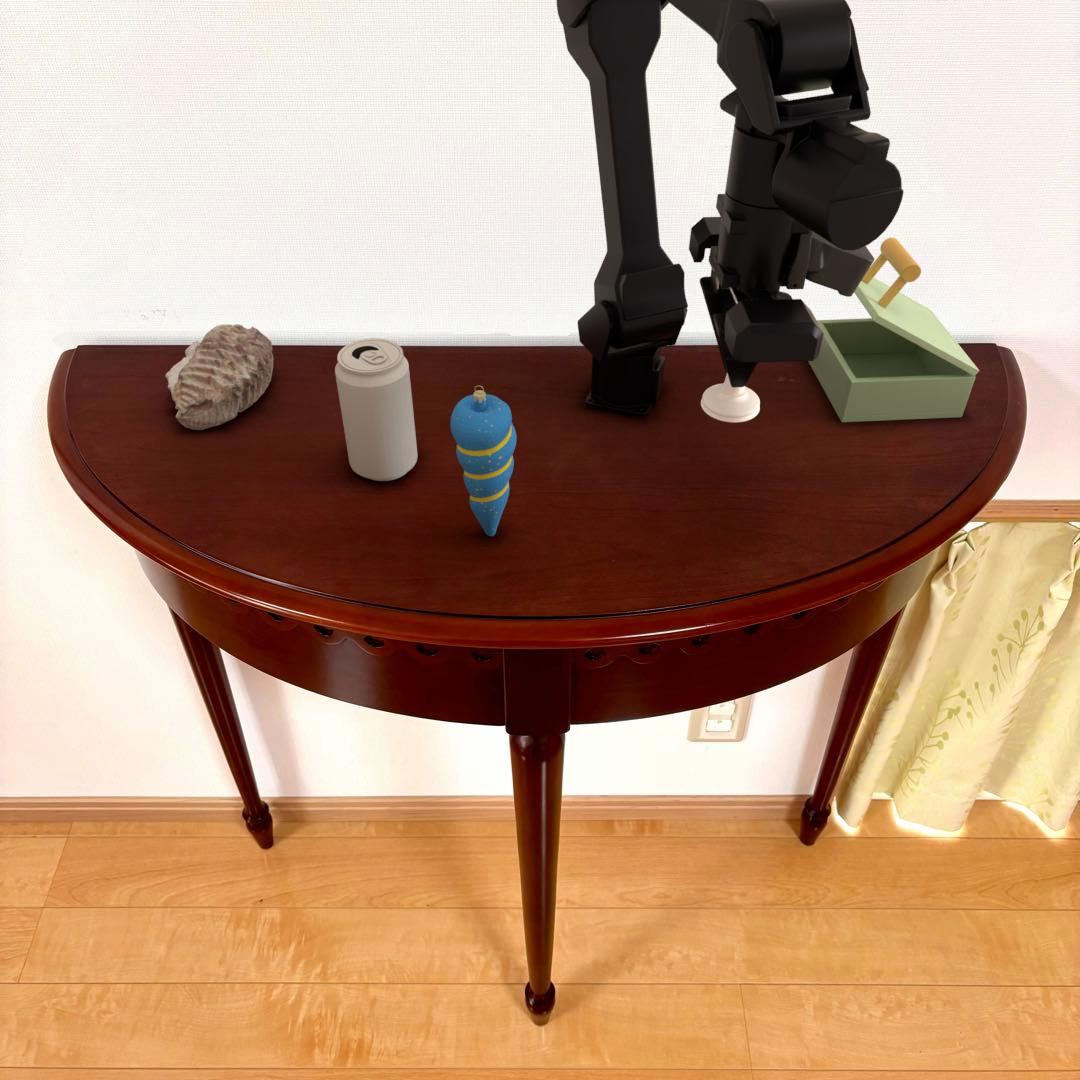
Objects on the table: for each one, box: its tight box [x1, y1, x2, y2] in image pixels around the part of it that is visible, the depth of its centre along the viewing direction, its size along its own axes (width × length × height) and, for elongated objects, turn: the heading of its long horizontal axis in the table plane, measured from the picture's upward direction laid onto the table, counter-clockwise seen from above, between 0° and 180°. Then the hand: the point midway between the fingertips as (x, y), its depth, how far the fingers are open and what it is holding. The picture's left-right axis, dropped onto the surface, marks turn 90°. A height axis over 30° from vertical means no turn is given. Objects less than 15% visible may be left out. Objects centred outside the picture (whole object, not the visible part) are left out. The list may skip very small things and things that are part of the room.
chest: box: [807, 317, 976, 423], centre depth 99 cm, size 12×12×5 cm
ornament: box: [449, 385, 518, 537], centre depth 78 cm, size 5×5×15 cm
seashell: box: [164, 323, 274, 431], centre depth 97 cm, size 14×9×10 cm
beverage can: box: [334, 337, 419, 482], centre depth 87 cm, size 6×6×12 cm
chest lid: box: [853, 237, 980, 377], centre depth 94 cm, size 13×12×6 cm
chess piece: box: [700, 373, 761, 423], centre depth 77 cm, size 5×5×10 cm
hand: (734, 379), depth 79 cm, fingers closed on chess piece
